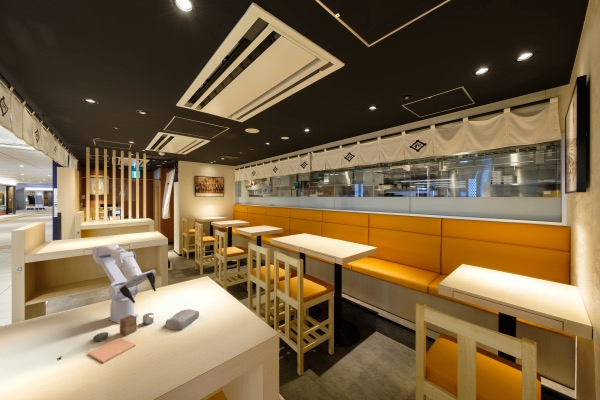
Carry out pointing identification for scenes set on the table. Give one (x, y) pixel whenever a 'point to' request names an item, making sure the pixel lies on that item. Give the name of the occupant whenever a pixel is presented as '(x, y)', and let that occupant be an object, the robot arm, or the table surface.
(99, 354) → the terracotta tile
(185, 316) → the stone block
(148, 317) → the brushed metal tin
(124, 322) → the walnut block
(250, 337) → the table surface
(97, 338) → the black rubber puck
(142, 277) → the robot arm
